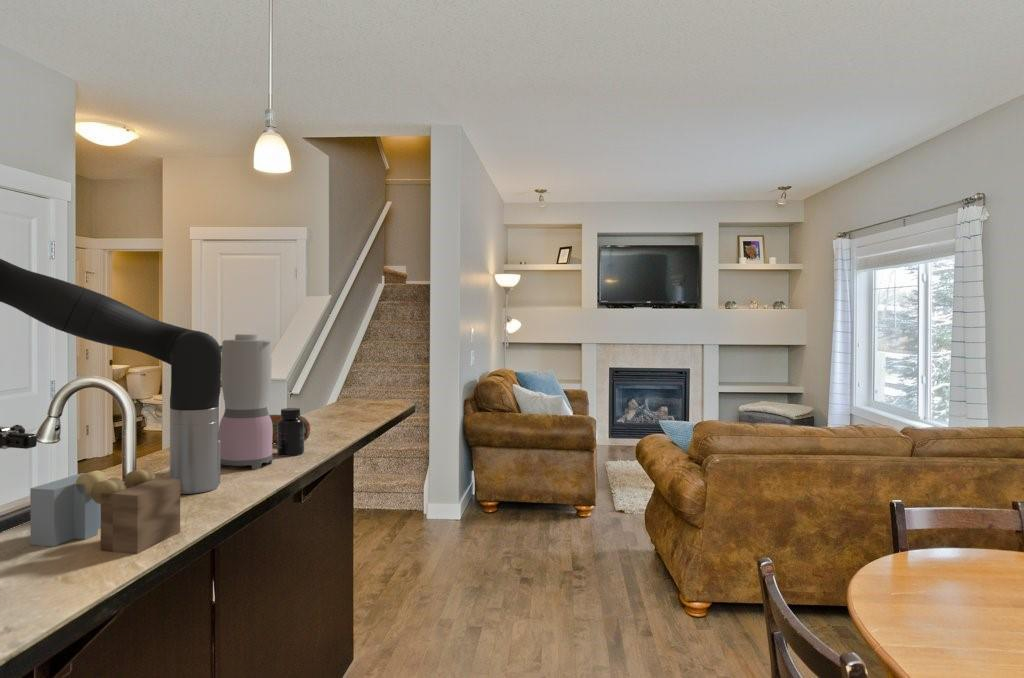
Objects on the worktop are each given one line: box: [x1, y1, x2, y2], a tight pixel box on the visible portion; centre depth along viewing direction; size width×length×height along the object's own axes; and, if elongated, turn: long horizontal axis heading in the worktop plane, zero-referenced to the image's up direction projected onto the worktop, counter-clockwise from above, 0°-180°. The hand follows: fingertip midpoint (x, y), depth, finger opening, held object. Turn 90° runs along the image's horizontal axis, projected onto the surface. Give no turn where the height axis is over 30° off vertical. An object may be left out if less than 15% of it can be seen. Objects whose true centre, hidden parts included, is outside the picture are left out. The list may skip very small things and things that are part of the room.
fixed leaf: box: [91, 466, 181, 554], centre depth 103 cm, size 10×8×11 cm
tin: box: [269, 414, 311, 443], centre depth 182 cm, size 15×3×8 cm, turn 81°
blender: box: [219, 333, 274, 470], centre depth 155 cm, size 16×12×32 cm
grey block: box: [29, 470, 108, 548], centre depth 104 cm, size 10×8×11 cm
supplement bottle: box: [276, 407, 305, 456], centre depth 169 cm, size 7×7×12 cm
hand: (32, 441), depth 104 cm, fingers closed
